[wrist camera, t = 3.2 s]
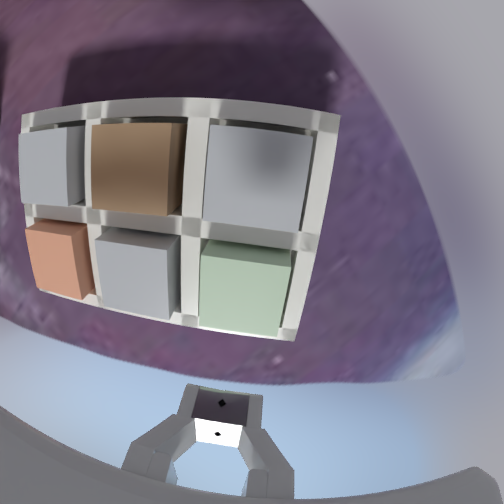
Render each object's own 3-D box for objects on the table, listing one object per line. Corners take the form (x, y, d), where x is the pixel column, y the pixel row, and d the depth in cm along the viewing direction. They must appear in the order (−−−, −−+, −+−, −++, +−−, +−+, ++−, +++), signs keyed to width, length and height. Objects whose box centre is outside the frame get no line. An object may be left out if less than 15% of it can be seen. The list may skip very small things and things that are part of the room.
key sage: (211, 235, 19) (200, 255, 16) (289, 246, 18) (291, 267, 16) (208, 300, 21) (198, 325, 18) (276, 310, 20) (276, 336, 18)
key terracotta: (48, 216, 19) (25, 229, 16) (94, 221, 19) (71, 236, 16) (57, 270, 21) (37, 287, 18) (101, 280, 21) (82, 300, 18)
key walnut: (117, 123, 16) (91, 125, 13) (188, 123, 16) (171, 122, 13) (115, 196, 18) (92, 208, 15) (183, 202, 18) (166, 216, 15)
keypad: (60, 112, 19) (8, 116, 13) (324, 118, 18) (347, 113, 12) (68, 265, 25) (30, 298, 19) (291, 302, 24) (295, 355, 18)
